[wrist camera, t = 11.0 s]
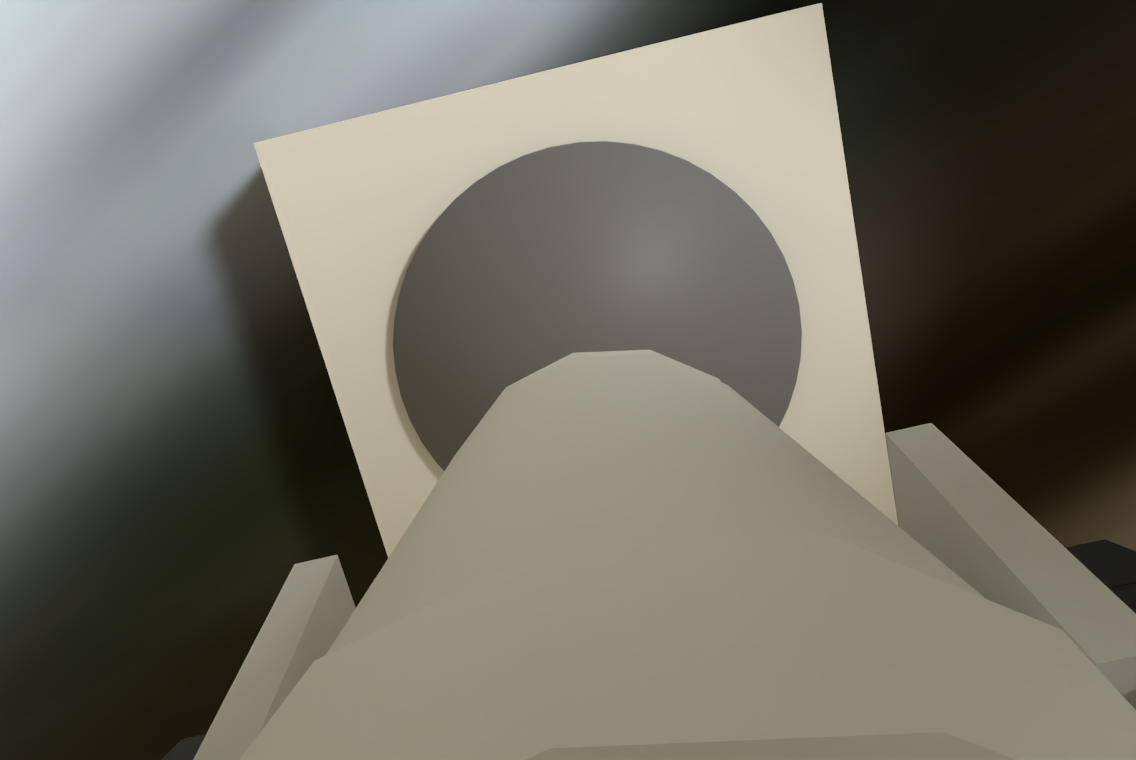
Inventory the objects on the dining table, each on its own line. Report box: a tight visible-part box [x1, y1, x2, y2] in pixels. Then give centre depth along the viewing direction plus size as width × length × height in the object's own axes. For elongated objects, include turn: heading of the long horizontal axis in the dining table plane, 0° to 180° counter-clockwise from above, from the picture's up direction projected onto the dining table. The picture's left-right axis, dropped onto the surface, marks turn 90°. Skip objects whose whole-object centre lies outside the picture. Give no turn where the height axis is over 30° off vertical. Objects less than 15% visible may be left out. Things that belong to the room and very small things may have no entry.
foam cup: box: [239, 350, 1136, 760], centre depth 13 cm, size 10×9×13 cm
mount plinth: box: [254, 3, 898, 558], centre depth 31 cm, size 16×16×4 cm
